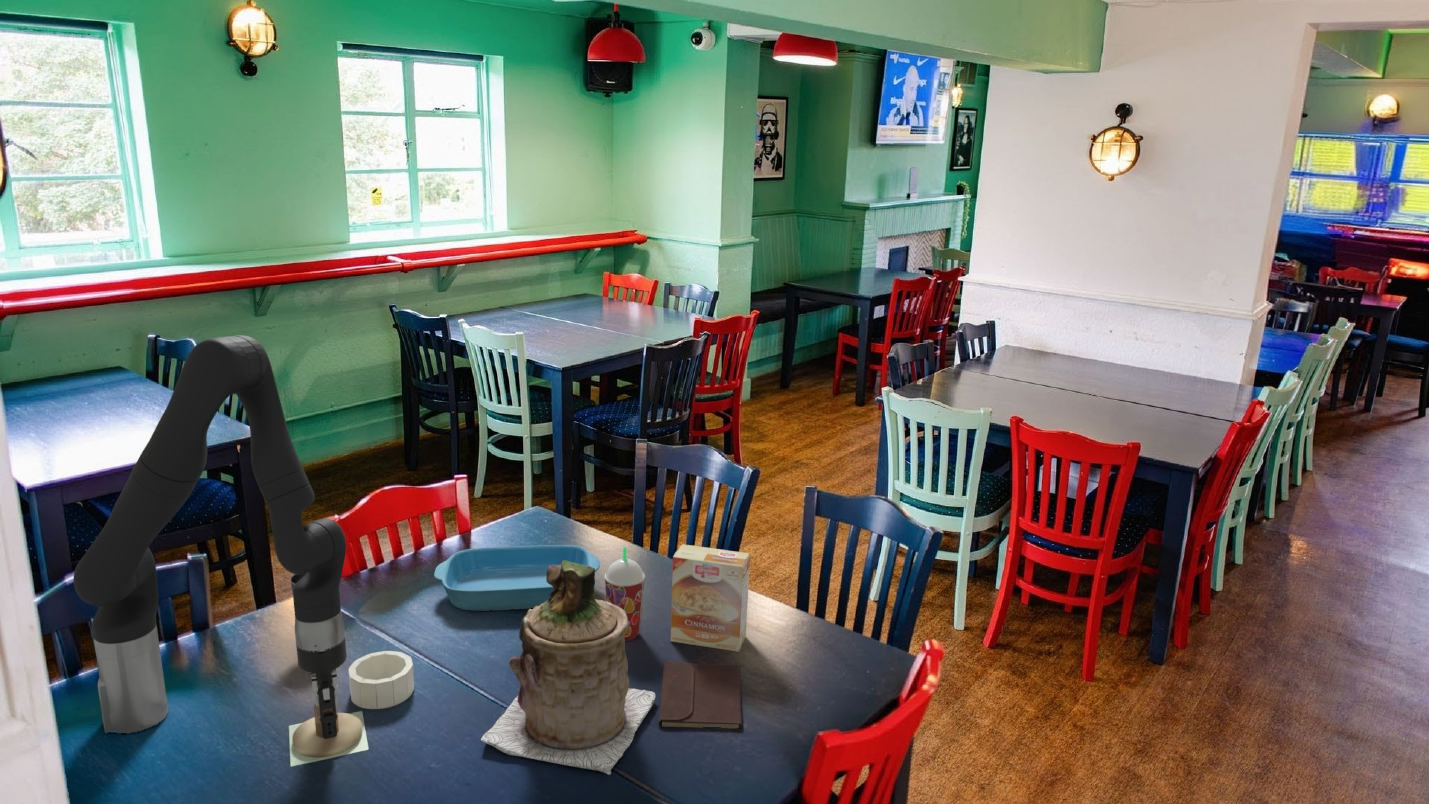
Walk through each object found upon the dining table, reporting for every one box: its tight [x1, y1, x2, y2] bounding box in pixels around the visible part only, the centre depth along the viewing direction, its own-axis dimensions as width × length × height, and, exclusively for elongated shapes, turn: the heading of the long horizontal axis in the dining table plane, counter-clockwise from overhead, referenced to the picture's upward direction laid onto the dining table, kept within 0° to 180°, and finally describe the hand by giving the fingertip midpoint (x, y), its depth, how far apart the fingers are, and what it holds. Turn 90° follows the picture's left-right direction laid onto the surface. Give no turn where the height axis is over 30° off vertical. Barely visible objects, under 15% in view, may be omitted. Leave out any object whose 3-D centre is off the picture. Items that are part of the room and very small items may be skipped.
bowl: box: [348, 650, 415, 710], centre depth 175 cm, size 11×11×6 cm
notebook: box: [657, 660, 743, 729], centre depth 179 cm, size 15×20×2 cm
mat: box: [288, 710, 369, 768], centre depth 162 cm, size 12×12×1 cm
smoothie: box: [604, 546, 646, 642], centre depth 197 cm, size 8×8×20 cm
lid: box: [292, 702, 362, 758], centre depth 161 cm, size 11×11×6 cm
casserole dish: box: [433, 544, 601, 612], centre depth 216 cm, size 37×22×7 cm, turn 99°
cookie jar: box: [480, 560, 656, 776], centre depth 165 cm, size 25×25×32 cm
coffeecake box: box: [670, 543, 751, 653], centre depth 197 cm, size 15×7×20 cm, turn 76°
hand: (328, 722), depth 161 cm, fingers open, 8 cm apart
